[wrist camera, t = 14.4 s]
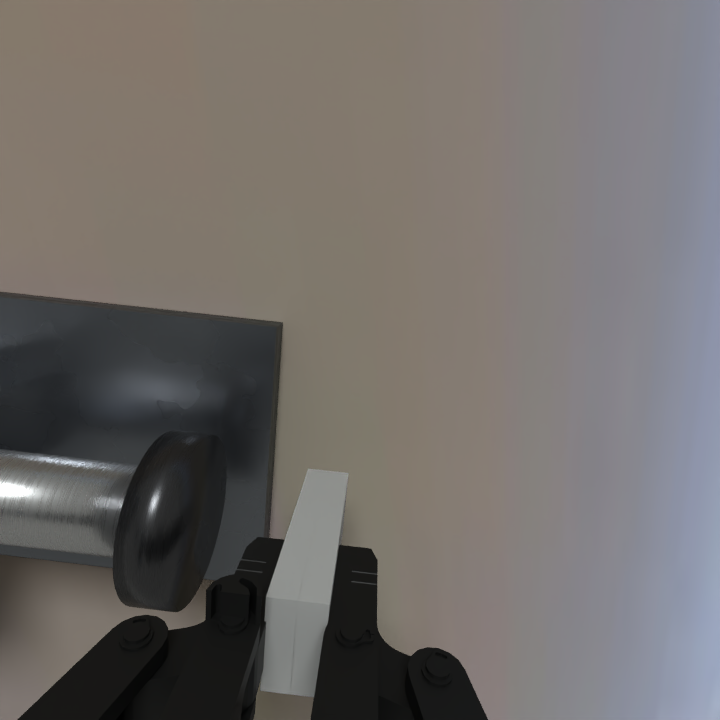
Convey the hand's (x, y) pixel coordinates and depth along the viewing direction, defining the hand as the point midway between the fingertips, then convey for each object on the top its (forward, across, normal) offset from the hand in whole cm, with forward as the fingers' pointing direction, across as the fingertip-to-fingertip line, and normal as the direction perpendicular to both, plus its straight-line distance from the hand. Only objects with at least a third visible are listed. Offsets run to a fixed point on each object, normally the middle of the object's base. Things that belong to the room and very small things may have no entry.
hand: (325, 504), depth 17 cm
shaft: (+1, -12, 0) cm, 12 cm away
